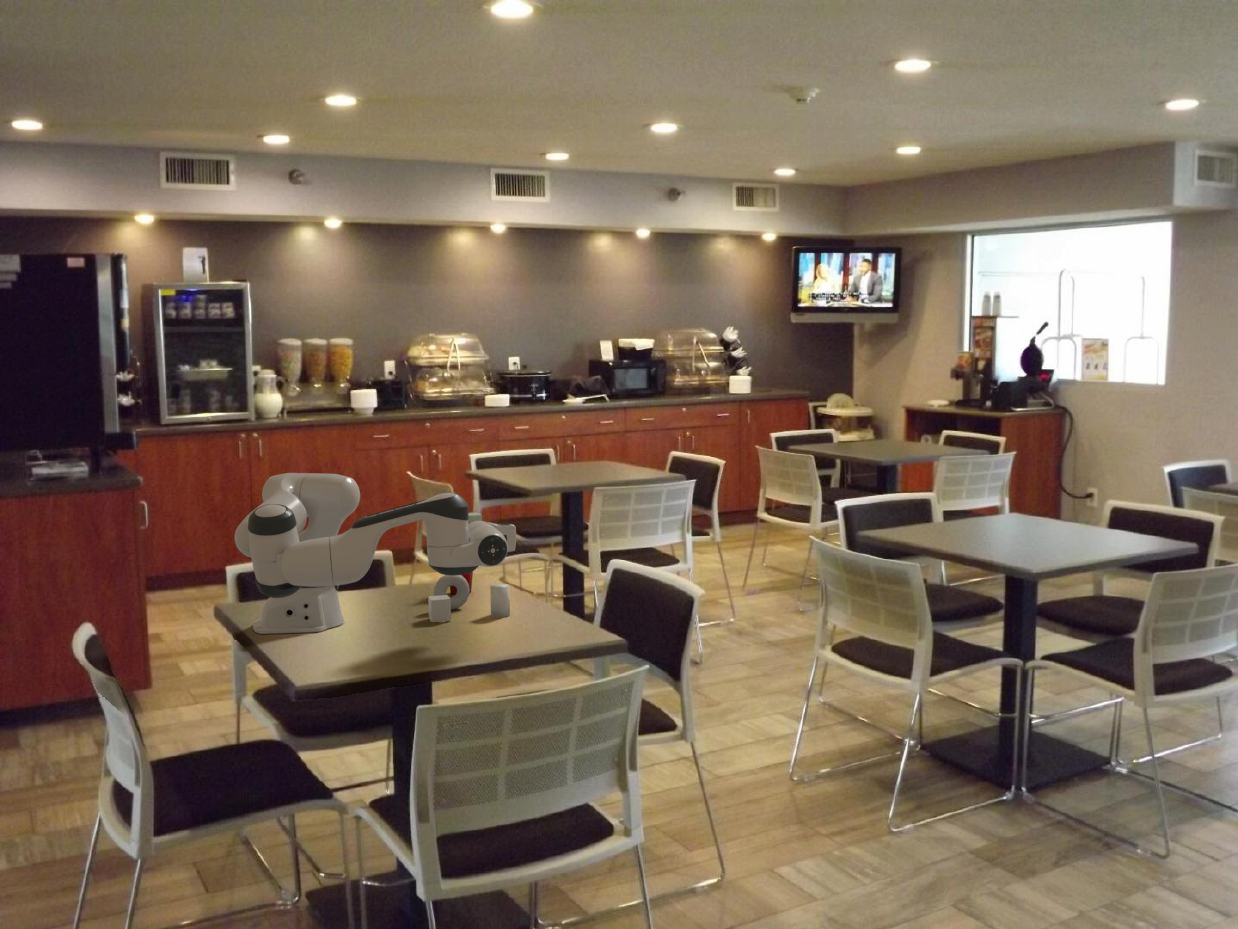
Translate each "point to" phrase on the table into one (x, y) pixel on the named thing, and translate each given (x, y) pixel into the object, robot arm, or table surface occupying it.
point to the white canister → (500, 600)
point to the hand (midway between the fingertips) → (469, 531)
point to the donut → (458, 583)
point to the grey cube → (439, 608)
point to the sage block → (474, 517)
